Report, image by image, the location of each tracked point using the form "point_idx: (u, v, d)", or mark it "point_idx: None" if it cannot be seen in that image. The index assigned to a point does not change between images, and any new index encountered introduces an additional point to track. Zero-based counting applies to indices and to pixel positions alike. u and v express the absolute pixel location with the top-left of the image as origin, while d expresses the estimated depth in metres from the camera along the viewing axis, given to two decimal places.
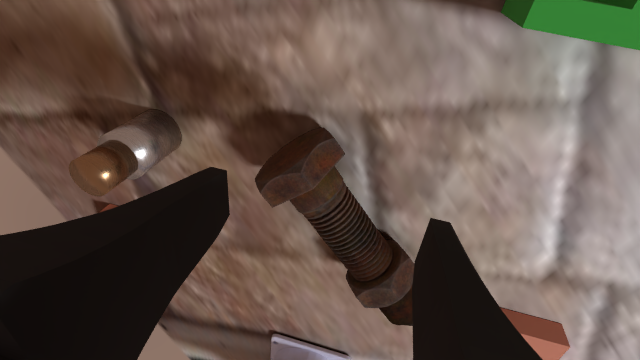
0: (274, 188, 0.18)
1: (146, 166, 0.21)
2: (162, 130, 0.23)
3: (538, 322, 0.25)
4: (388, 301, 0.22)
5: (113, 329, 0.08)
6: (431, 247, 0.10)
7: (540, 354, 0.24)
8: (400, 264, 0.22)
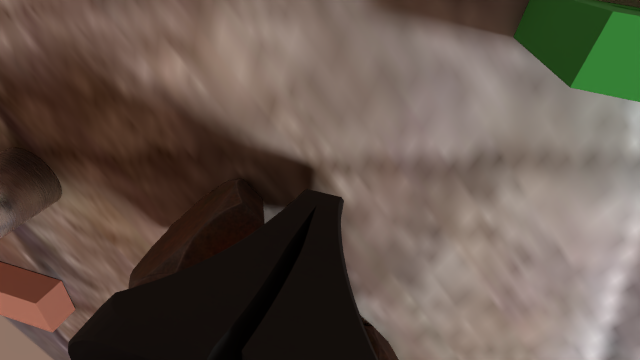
0: None
1: None
2: (18, 181, 0.15)
3: None
4: None
5: None
6: None
7: None
8: None
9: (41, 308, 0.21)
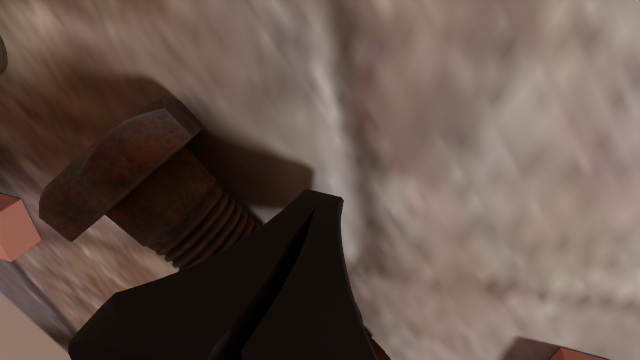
0: (54, 208, 0.10)
1: None
2: None
3: None
4: None
5: None
6: None
7: None
8: None
9: None
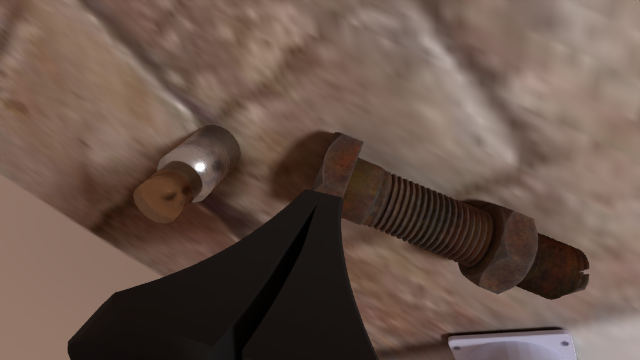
0: None
1: (208, 175, 0.19)
2: (212, 138, 0.21)
3: None
4: (517, 272, 0.17)
5: None
6: None
7: None
8: (505, 223, 0.17)
9: None
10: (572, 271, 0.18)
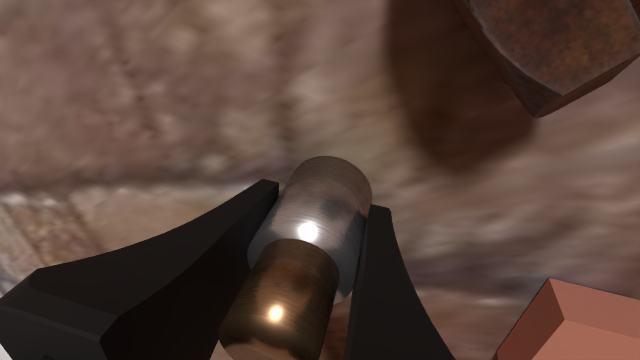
0: (539, 36, 0.05)
1: (318, 228, 0.09)
2: (296, 180, 0.11)
3: None
4: None
5: (186, 353, 0.08)
6: (365, 231, 0.10)
7: None
8: None
9: (585, 321, 0.11)
10: None
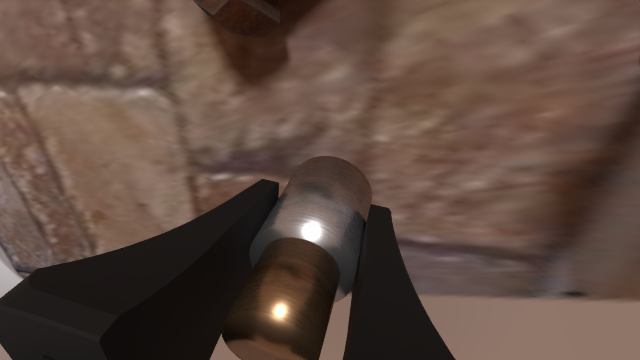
0: None
1: (320, 228, 0.09)
2: (298, 179, 0.12)
3: None
4: None
5: (186, 353, 0.08)
6: (365, 231, 0.10)
7: None
8: None
9: None
10: None
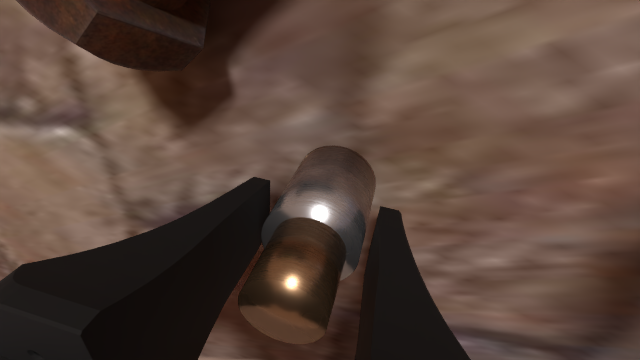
0: (42, 3, 0.08)
1: (328, 209, 0.10)
2: (306, 166, 0.12)
3: None
4: None
5: (173, 349, 0.08)
6: (376, 233, 0.10)
7: None
8: None
9: None
10: None
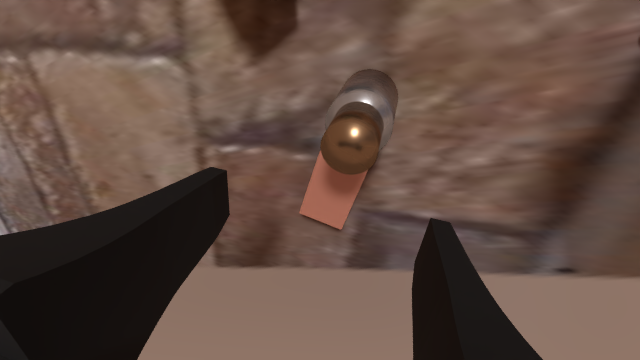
0: None
1: (374, 95, 0.16)
2: (353, 79, 0.18)
3: None
4: None
5: (113, 329, 0.08)
6: (431, 247, 0.10)
7: None
8: None
9: None
10: None
